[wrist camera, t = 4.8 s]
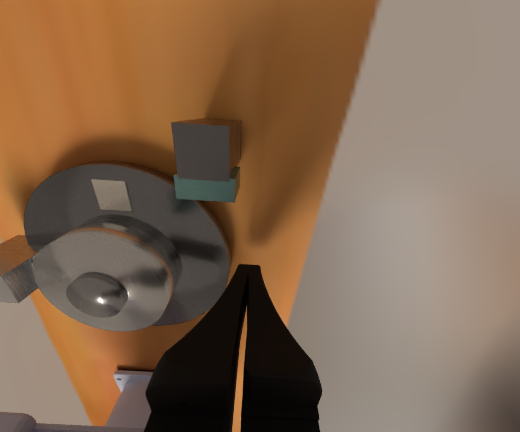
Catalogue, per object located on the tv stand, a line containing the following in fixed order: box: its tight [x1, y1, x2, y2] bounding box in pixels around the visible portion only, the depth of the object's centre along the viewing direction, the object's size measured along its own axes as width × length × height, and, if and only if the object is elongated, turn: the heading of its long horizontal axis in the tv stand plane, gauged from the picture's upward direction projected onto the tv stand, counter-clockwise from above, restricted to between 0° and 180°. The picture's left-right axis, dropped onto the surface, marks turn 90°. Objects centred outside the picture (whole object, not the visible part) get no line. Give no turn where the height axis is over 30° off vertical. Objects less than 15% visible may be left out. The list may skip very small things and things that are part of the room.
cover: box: [33, 214, 182, 332], centre depth 12 cm, size 7×7×3 cm
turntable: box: [0, 161, 231, 326], centre depth 13 cm, size 13×14×4 cm
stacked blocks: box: [171, 118, 241, 202], centre depth 10 cm, size 3×2×4 cm
